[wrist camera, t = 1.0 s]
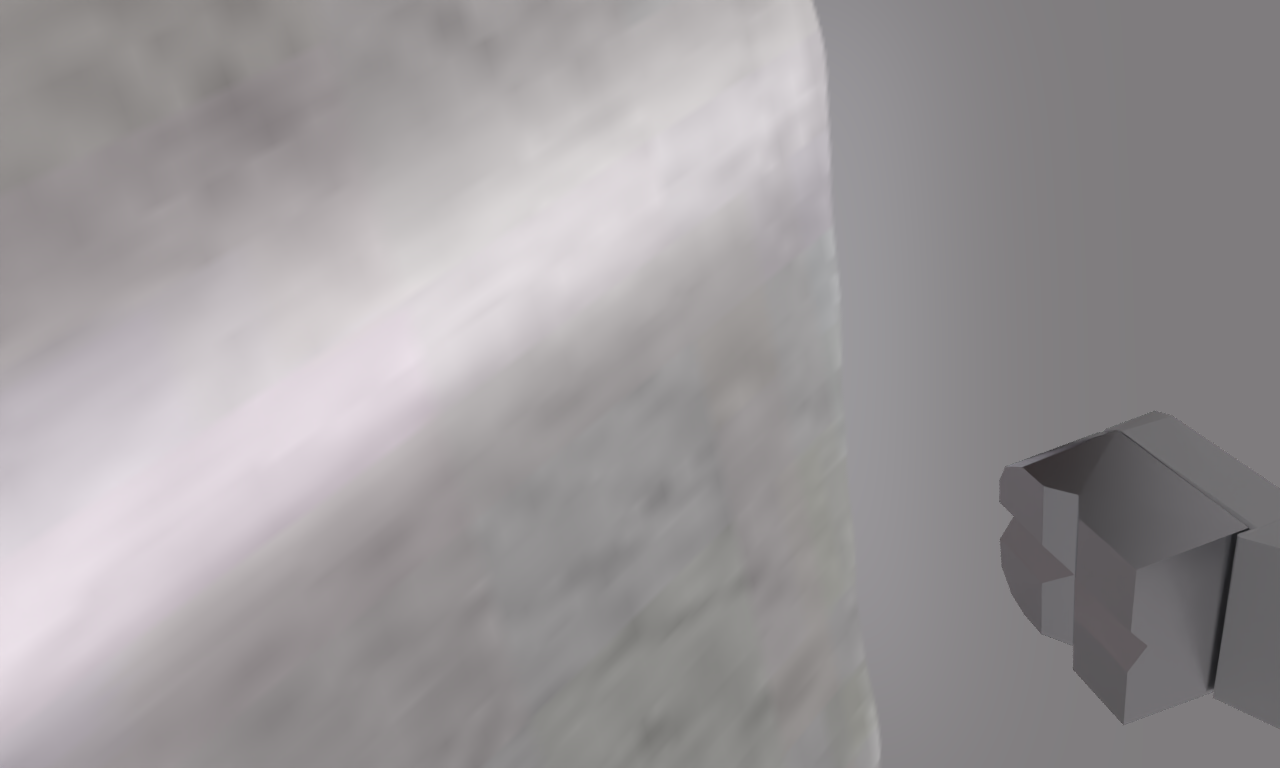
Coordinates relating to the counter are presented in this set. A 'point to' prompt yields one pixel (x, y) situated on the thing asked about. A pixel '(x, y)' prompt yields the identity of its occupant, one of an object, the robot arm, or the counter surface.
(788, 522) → the counter surface
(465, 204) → the counter surface
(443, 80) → the counter surface
